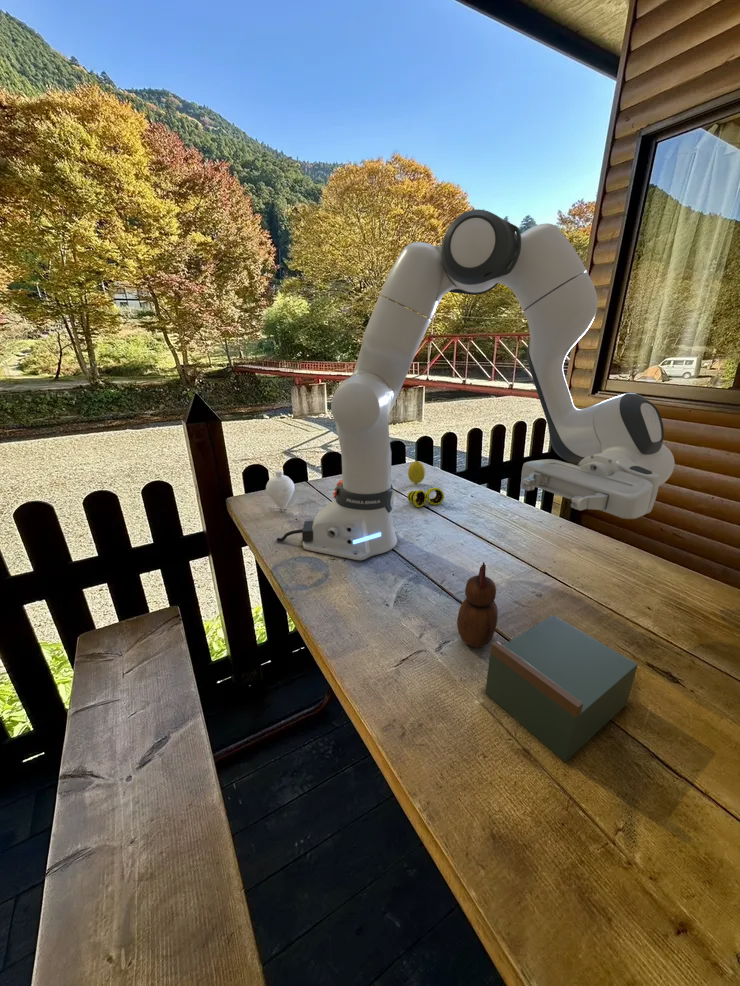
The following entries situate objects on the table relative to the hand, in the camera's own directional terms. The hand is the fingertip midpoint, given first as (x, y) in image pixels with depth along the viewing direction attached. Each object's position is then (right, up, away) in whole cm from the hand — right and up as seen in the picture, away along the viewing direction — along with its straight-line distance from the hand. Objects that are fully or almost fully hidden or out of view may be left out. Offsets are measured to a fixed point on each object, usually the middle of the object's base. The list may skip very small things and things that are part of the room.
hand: (548, 494), depth 64 cm
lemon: (-13, +3, +72) cm, 73 cm away
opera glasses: (-12, -3, +56) cm, 58 cm away
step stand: (-3, -28, -8) cm, 29 cm away
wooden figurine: (-11, -24, +3) cm, 26 cm away
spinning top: (-52, -5, +52) cm, 74 cm away
